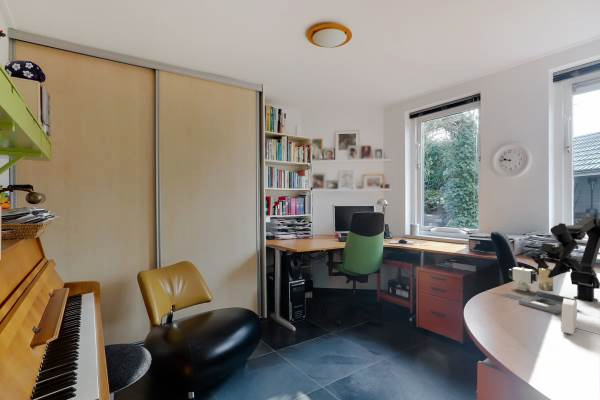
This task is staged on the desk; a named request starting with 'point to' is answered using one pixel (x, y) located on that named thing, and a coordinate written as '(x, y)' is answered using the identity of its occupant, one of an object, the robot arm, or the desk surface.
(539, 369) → the desk surface
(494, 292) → the desk surface
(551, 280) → the brass knob
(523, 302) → the plate
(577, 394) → the desk surface
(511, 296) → the grey square plate
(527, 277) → the pneumatic valve
